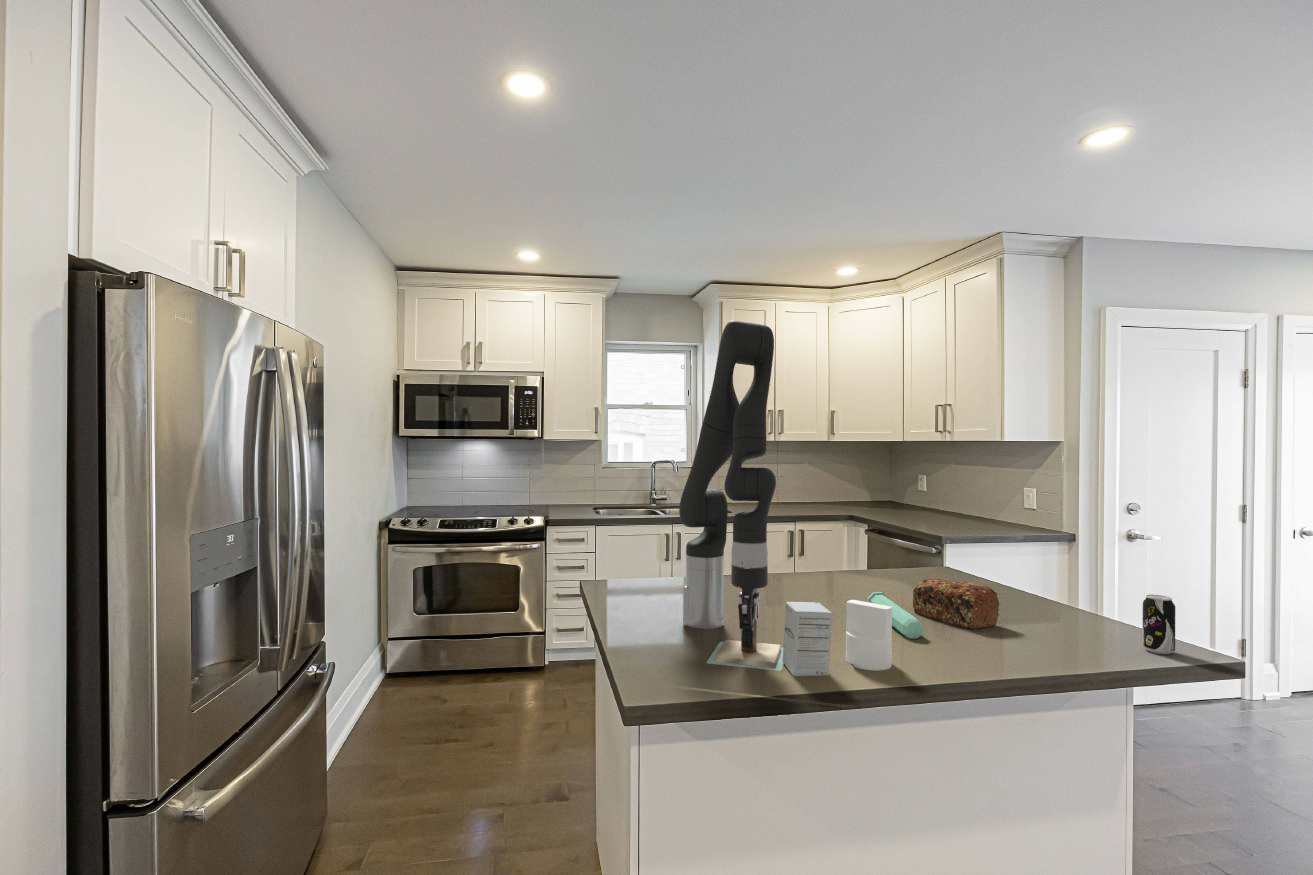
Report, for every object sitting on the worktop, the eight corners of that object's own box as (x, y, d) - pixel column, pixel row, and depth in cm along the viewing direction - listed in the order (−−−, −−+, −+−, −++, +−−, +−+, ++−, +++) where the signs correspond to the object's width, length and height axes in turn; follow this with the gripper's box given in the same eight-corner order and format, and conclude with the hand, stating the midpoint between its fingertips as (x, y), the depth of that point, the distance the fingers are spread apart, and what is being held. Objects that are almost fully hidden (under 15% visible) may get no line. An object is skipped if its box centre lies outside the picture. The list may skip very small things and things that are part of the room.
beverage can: (1136, 649, 149) (1136, 594, 149) (1152, 646, 151) (1153, 592, 151) (1164, 657, 143) (1165, 600, 143) (1181, 653, 146) (1181, 598, 146)
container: (922, 614, 154) (883, 587, 179) (898, 623, 154) (863, 596, 179) (932, 637, 155) (891, 608, 180) (908, 647, 154) (871, 616, 179)
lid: (714, 661, 137) (715, 626, 137) (725, 644, 148) (725, 612, 148) (774, 667, 134) (774, 632, 134) (780, 649, 145) (780, 616, 145)
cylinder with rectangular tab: (837, 662, 138) (838, 604, 138) (858, 652, 145) (858, 596, 145) (880, 673, 132) (880, 612, 132) (899, 662, 138) (899, 604, 138)
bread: (1000, 626, 166) (1000, 586, 166) (969, 631, 162) (970, 590, 162) (939, 609, 183) (939, 572, 183) (910, 613, 179) (910, 575, 179)
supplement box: (781, 663, 136) (784, 600, 136) (817, 663, 137) (820, 601, 137) (791, 676, 129) (795, 610, 129) (829, 677, 129) (833, 611, 129)
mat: (706, 664, 136) (706, 662, 136) (720, 643, 150) (720, 641, 150) (781, 672, 132) (781, 670, 132) (788, 649, 146) (788, 647, 146)
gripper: (737, 556, 149) (736, 634, 149) (725, 567, 135) (725, 653, 135) (771, 558, 147) (770, 637, 147) (763, 570, 133) (762, 657, 133)
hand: (748, 644), depth 141 cm, fingers closed on lid, 3 cm apart
